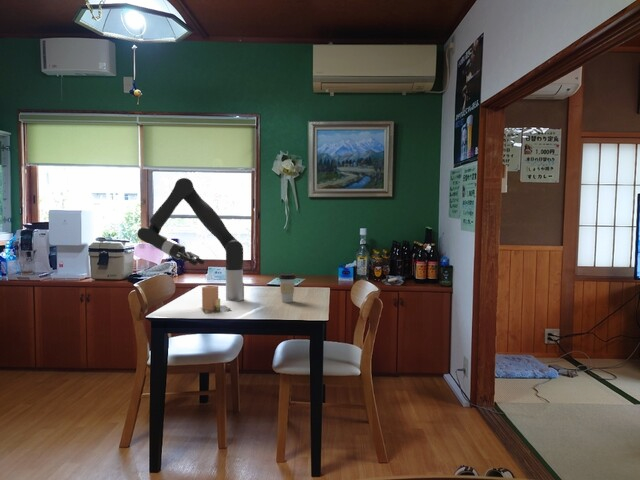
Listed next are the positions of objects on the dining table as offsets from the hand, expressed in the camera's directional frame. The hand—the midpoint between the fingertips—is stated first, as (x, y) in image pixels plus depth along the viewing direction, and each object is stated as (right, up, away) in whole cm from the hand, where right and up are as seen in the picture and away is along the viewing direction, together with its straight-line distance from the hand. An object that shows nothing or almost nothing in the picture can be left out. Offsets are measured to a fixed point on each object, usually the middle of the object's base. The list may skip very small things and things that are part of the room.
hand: (200, 263), depth 222 cm
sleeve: (+6, -22, -4) cm, 24 cm away
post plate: (+9, -24, -6) cm, 26 cm away
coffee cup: (+43, -22, +19) cm, 52 cm away
